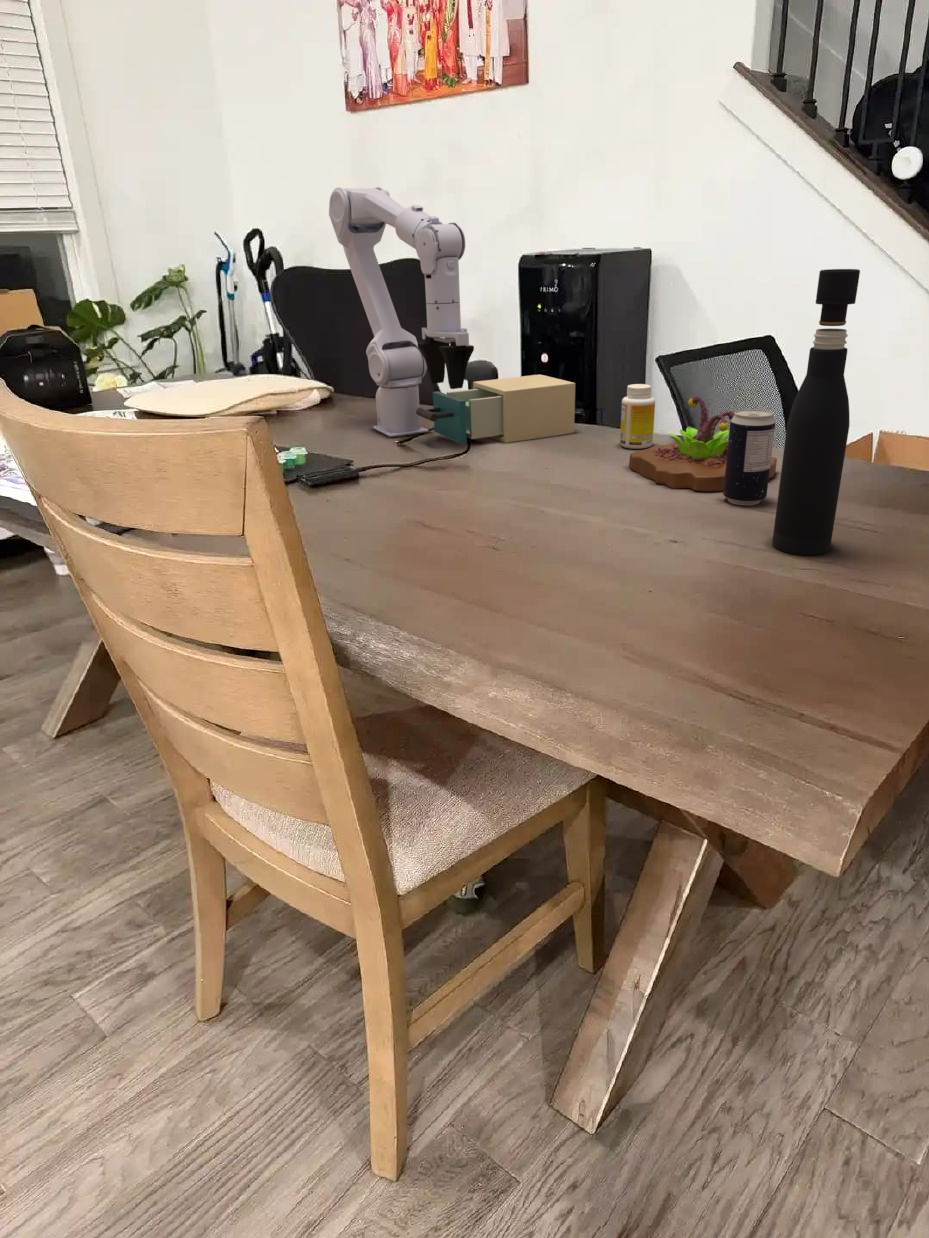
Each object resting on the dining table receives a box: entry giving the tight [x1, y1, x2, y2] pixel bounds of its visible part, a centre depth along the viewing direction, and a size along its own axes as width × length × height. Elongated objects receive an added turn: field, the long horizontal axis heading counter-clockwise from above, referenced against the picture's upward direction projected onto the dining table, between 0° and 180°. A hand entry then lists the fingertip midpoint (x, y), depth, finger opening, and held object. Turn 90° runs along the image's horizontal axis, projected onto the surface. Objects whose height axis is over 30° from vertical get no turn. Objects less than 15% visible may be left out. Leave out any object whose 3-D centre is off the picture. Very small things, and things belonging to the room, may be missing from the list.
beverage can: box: [722, 408, 776, 506], centre depth 113 cm, size 6×6×12 cm
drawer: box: [416, 388, 503, 444], centre depth 153 cm, size 18×11×7 cm, turn 116°
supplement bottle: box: [619, 383, 656, 450], centre depth 144 cm, size 6×6×10 cm
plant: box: [628, 395, 778, 492], centre depth 128 cm, size 20×20×11 cm
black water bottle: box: [771, 268, 861, 556], centre depth 93 cm, size 6×6×30 cm
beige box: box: [472, 374, 576, 444], centre depth 158 cm, size 15×13×9 cm
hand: (446, 385), depth 147 cm, fingers open, 7 cm apart
